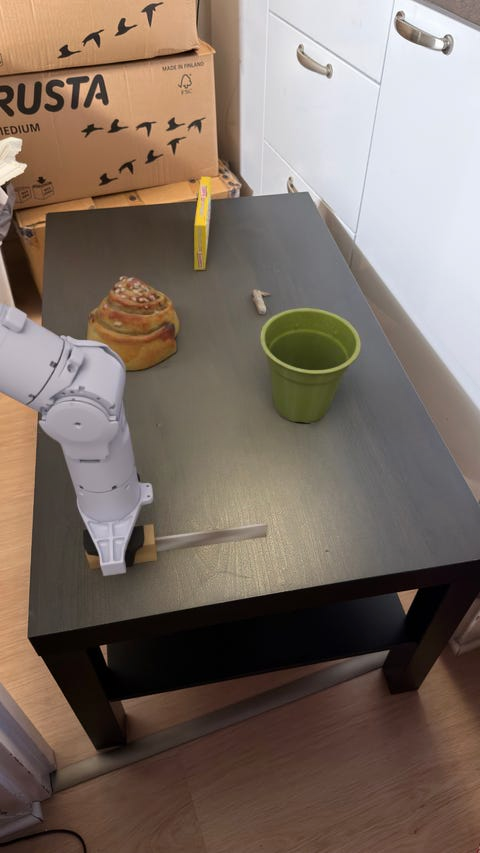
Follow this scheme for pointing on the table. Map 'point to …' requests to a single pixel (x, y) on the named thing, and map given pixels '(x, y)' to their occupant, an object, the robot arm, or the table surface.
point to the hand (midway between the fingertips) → (122, 547)
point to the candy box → (202, 223)
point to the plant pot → (307, 360)
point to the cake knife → (187, 541)
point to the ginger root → (259, 301)
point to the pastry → (135, 324)
